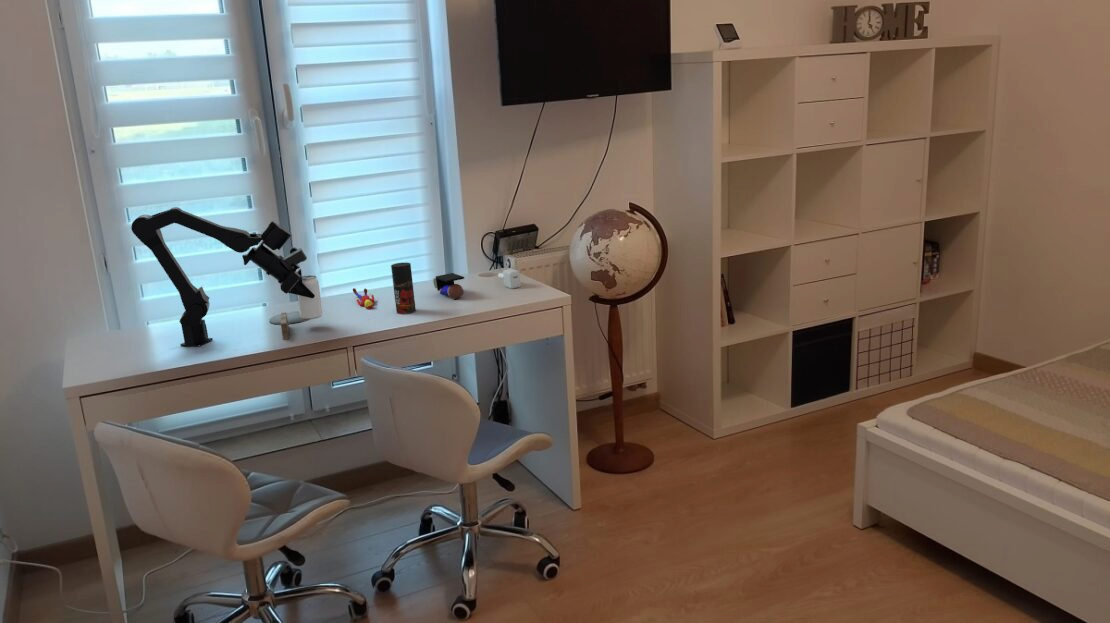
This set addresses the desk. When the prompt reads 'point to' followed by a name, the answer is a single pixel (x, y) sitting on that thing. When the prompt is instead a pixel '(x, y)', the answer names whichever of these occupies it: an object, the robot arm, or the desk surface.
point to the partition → (284, 326)
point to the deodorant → (403, 288)
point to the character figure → (364, 299)
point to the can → (310, 299)
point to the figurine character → (449, 285)
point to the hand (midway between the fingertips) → (313, 294)
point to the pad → (291, 317)
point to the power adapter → (510, 278)
